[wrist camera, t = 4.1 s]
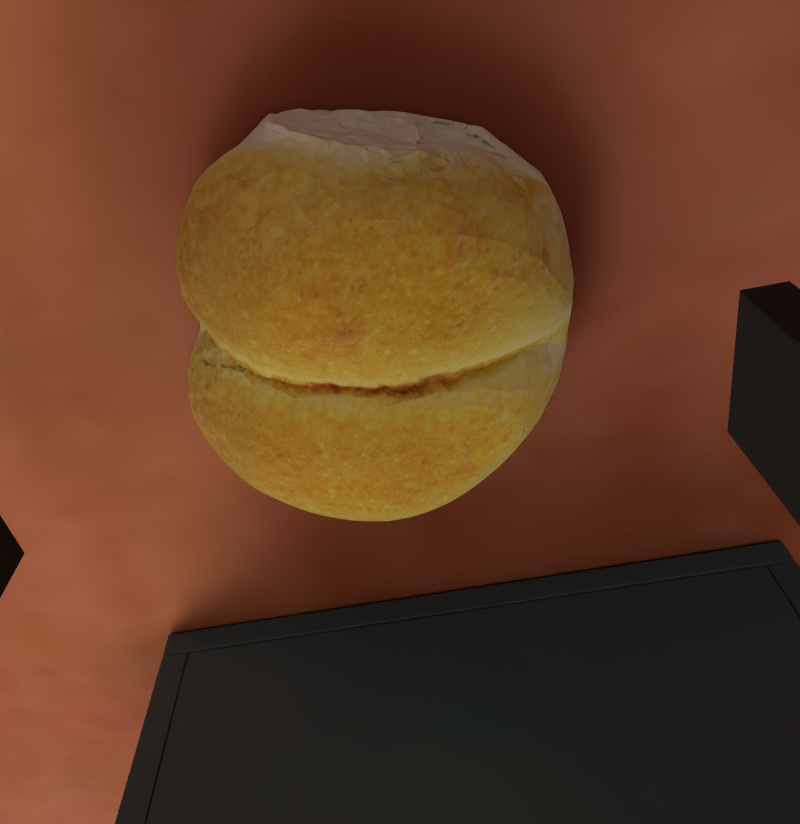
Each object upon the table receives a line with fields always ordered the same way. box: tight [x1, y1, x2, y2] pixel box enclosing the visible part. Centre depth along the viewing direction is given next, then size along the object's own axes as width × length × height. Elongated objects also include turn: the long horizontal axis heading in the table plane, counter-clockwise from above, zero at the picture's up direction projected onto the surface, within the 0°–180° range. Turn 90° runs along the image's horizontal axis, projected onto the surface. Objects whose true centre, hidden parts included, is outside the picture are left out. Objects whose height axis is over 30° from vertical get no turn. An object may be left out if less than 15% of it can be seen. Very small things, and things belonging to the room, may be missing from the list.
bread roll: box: [175, 108, 574, 521], centre depth 15 cm, size 8×9×4 cm
